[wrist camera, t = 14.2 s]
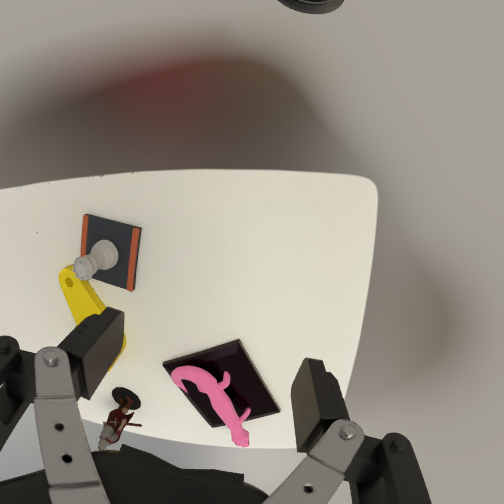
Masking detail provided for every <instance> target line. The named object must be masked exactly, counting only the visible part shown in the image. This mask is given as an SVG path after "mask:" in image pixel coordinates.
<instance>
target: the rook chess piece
mask: <svg viewBox="0 0 504 504" xmlns="http://www.w3.org/2000/svg"><path fill="white" fill-rule="evenodd" d="M117 261H118V251H117V249H116V247H115V246H114V244H113V243H112V242H110V241H108V240H101V241H98V242H97V243H96V244H95V245H94V246H93V247H92V250H91V253H90V254H89V255H85V256H83V257H79V258H77V259H76V260H75V262H74V264H73V266H74V268H72V271H73V272H75V273H76V275H74V276H75V277H76V278H78V277H79V280H86V281H87V280H89V279H91V277H92V276H93V274H95V273H96V271H97V270H98V269H102V270H107V269H110V268H111V267H114V266H115V264H116V263H117Z"/></svg>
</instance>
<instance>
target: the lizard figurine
mask: <svg viewBox="0 0 504 504" xmlns="http://www.w3.org/2000/svg"><path fill="white" fill-rule="evenodd" d="M163 367H164V368H165V369H166V371H167V372H168V374H169V375H170V376H171V378H172V380H173V382H174V383H175V384H176V385H177V386H178V387H179V388H180V389H181V391H182V392H183V393H184V395H185V396H186V397H187V398H188V400H189V401H190V402H191V403H192V405H193V406H194V407H195V408H196V409H197V411H198V412H199V413H200V414H201V415H202V417H203V418H204V419H205V420H206V421H207V422H208V424H209V425H210V426H211V427H212V428H215V427H220V426H225V425H227V427H228V428H229V429H230V430H231V435H232V441H233V442H234V443H235V444H236V445H237V446H242V447H248V446H249V432H248V431H246V430H244V429H243V428H242V425H241V424H242V422H244V421H248V420H252V419H256V418H260V417H264V416H268V415H272V414H276V413H279V412H280V408H279V406H278V404H277V403H276V401H275V399H274V398H273V396H272V394H271V393H270V391H269V389H268V388H267V386H266V384H265V383H264V381H263V379H262V378H261V376H260V374H259V373H258V371H257V369H256V367H255V366H254V364H253V362H252V360H251V359H250V357H249V355H248V353H247V352H246V350H245V348H244V346H243V345H242V343H241V341H240V339H238V340H235V341H232V342H229V343H225V344H222V345H219V346H216V347H213V348H210V349H207V350H203V351H200V352H197V353H193V354H190V355H187V356H183V357H180V358H176V359H173V360H169V361H166V362H164V363H163Z"/></svg>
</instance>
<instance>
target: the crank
mask: <svg viewBox="0 0 504 504" xmlns="http://www.w3.org/2000/svg"><path fill="white" fill-rule="evenodd" d="M72 268H74V266H72V265H71V266H68V267H66V268H65V269H63V270H62V271H61V272H60V274H59V283H60V286H61V288H62V291H63V293H64V296H65V298H66V301H67V303H68V306H69V308H70V310H71V313H72V315H73V317H74V319H75V322H76V324H77V326H78V325H79V324H80V323H81V322H82V321H83V320H84V319H85V318H86V317H88V316H90V315H92V314H98V315H100V314H101V313H102V311H103V310H104V309H105V308H106V307H105V306H104V304H103V303H102V302H101V300H100V299H99V297H98V296H97V294H96V293H95V292H94V290H93V289H92V287H91V286H90V284H89V283H88V281H86V280H79V277H78V278H76V277H75V276H74V275H76V273H75V272H73V271H72ZM70 278H71V279H70ZM71 280H72V281H73V282H72V281H71ZM125 346H126V338H125V335H124V342H123V347H122V350H121V352H120V354H119V355H118V357H117V358H116V360H115V361H114V363H113V364H112V366H111V367H110V369H109V370H108V372H109V371H110V370H111V368H112V367H113V365H114V364H115V362H116V361H117V359H118V358H119V356H120V355H121V353H122V352H123V350H124V348H125Z"/></svg>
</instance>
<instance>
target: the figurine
mask: <svg viewBox="0 0 504 504" xmlns="http://www.w3.org/2000/svg"><path fill="white" fill-rule="evenodd" d="M112 397H113V398H114V400H115V401H116V402H117V403H118V404H119V405H120V406H119V408H118V409H115V410H113V411H111V412H110V413H109V416H108V420H107V423H106V422H103V425H104V427H103V430H102V432H101V435H100V441H99V447H98V448H99V450H104V449H106V447H107V446H110V445H111V444H113V443H116V442H117V441H118V440H119V438H120V435H121V433H122V431H123V429H124V427H125V426H126V425H130V426H139V427H141V426H142V425H141V424H134V423H128V422H129V421H130V419H131V418H132V416H133V414H134V412H132V413H131V414H128V415H125V414H126V413H127V412H128V410H136V409H138V408H140V405H141V401H140V400H139V398H138V396H137V395H135V394H134V393H133V392H132V391H130V390H128V389H125V388H119V387H116V388H115V389H114V390H113V391H112ZM123 407H124V408H123ZM106 424H107V425H106Z"/></svg>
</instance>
